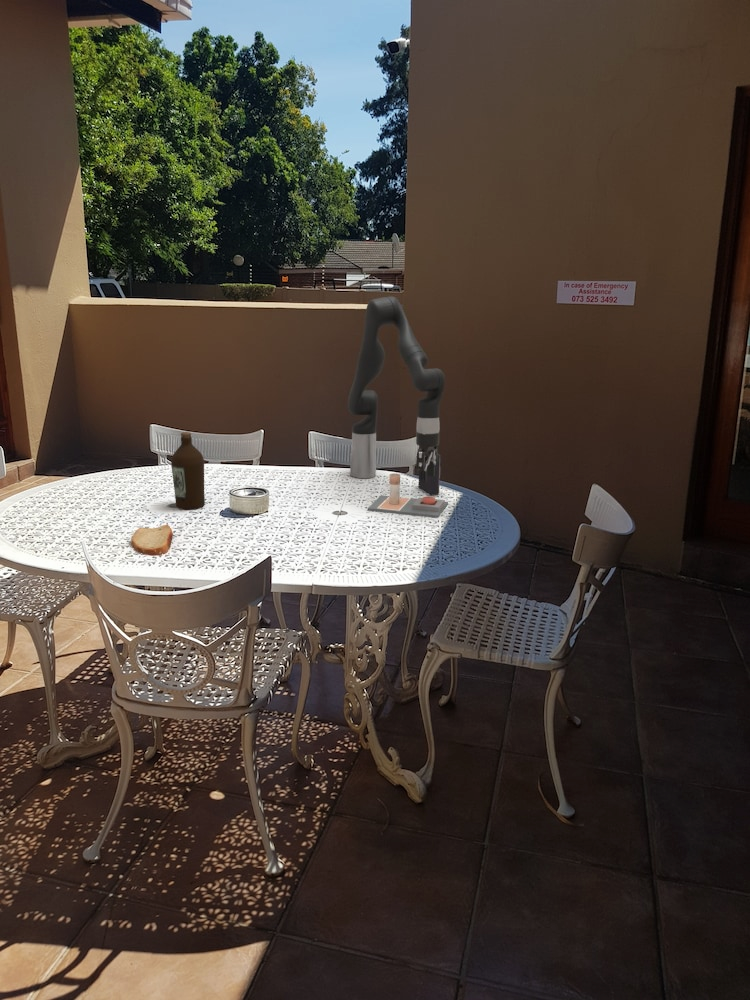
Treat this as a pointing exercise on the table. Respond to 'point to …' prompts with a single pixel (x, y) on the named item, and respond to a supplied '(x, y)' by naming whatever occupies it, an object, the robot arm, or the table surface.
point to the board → (409, 506)
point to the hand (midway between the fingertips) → (426, 478)
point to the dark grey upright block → (431, 480)
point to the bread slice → (152, 540)
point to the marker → (394, 488)
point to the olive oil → (188, 475)
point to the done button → (428, 500)
